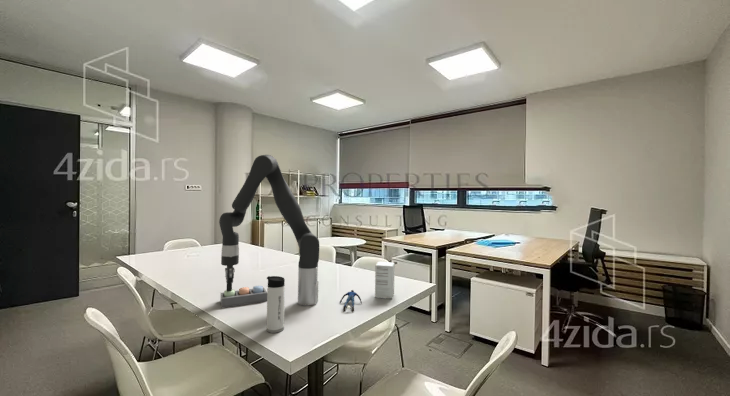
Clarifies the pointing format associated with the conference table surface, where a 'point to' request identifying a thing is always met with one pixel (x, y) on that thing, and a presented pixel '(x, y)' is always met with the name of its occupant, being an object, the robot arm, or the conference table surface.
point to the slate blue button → (257, 289)
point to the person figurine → (350, 297)
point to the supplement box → (384, 279)
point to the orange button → (243, 291)
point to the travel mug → (275, 304)
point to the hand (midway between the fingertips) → (229, 290)
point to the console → (243, 298)
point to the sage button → (229, 293)
